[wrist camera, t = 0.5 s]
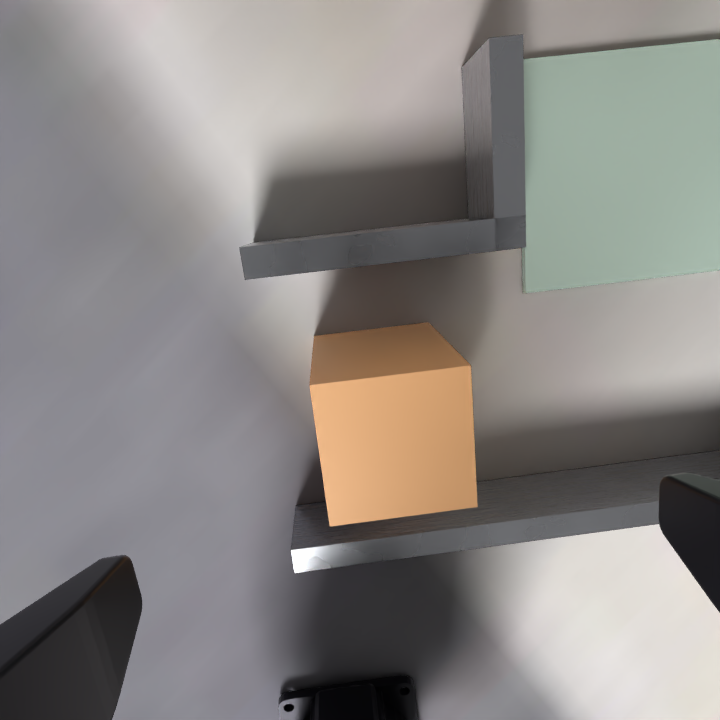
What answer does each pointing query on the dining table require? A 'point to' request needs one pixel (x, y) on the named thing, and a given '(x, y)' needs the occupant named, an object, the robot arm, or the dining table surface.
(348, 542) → the steel rail course
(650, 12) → the dining table surface
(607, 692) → the dining table surface
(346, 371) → the orange block
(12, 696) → the robot arm
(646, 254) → the pad
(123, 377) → the dining table surface
